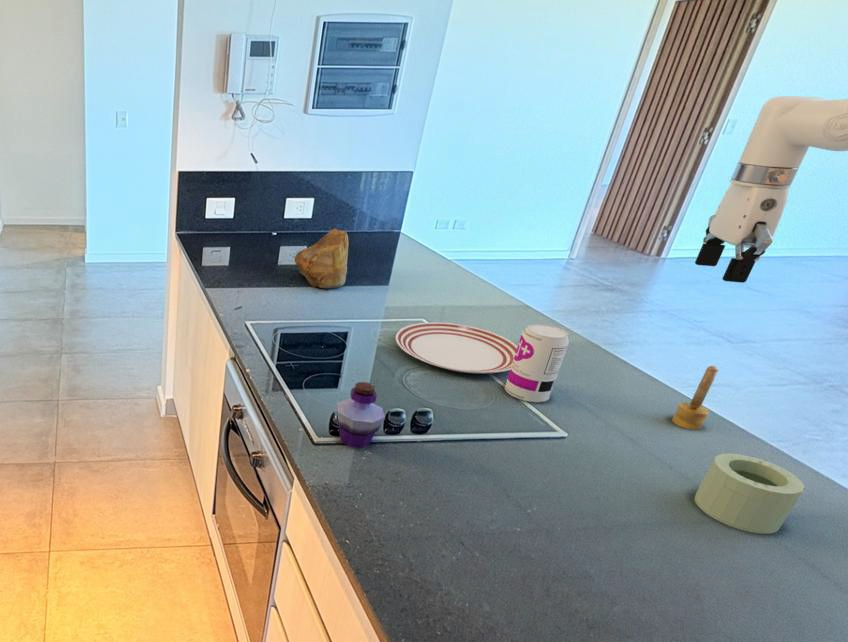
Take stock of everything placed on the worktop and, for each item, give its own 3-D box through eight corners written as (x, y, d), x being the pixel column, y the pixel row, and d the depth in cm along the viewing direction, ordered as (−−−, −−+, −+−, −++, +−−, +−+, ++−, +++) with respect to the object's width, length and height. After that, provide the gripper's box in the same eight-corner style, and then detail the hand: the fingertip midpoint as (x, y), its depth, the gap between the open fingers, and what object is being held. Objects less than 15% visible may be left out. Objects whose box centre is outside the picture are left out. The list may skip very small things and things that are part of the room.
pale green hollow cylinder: (757, 501, 99) (780, 460, 96) (793, 542, 91) (820, 499, 87) (682, 488, 102) (702, 448, 99) (710, 527, 94) (733, 484, 90)
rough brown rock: (299, 268, 211) (301, 225, 205) (350, 270, 205) (353, 226, 198) (286, 291, 193) (287, 245, 186) (342, 294, 186) (345, 246, 179)
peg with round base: (694, 422, 121) (722, 363, 115) (704, 433, 117) (734, 373, 112) (667, 418, 122) (694, 359, 117) (676, 429, 119) (705, 369, 113)
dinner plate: (489, 395, 130) (493, 381, 129) (371, 352, 149) (374, 340, 148) (539, 359, 146) (543, 347, 144) (427, 325, 165) (430, 313, 163)
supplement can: (510, 402, 128) (531, 336, 121) (498, 384, 135) (518, 321, 128) (553, 407, 126) (578, 340, 119) (540, 388, 133) (562, 324, 126)
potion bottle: (383, 438, 115) (396, 382, 110) (371, 460, 109) (384, 402, 104) (338, 424, 120) (348, 370, 114) (323, 445, 113) (333, 388, 108)
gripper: (825, 186, 95) (772, 290, 103) (760, 169, 110) (718, 261, 118) (765, 183, 97) (718, 286, 105) (709, 167, 112) (672, 257, 120)
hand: (718, 273), depth 111 cm, fingers open, 9 cm apart
